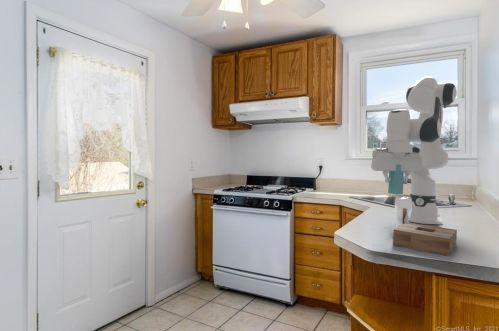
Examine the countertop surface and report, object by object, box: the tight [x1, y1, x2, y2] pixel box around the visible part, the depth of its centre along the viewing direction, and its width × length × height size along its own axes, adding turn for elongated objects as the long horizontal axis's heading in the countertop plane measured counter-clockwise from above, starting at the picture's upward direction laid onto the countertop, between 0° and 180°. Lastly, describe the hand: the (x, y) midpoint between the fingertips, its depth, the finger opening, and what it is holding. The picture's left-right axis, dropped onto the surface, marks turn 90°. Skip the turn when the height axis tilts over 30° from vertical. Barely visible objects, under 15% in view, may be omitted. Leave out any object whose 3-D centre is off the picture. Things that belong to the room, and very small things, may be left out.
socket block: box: [392, 222, 458, 257], centre depth 116 cm, size 18×18×6 cm
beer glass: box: [394, 196, 412, 229], centre depth 140 cm, size 7×7×15 cm
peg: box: [387, 165, 405, 196], centre depth 125 cm, size 4×4×12 cm
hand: (396, 182), depth 125 cm, fingers closed on peg, 5 cm apart
